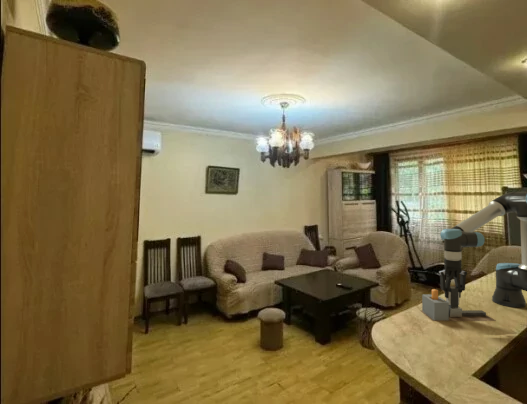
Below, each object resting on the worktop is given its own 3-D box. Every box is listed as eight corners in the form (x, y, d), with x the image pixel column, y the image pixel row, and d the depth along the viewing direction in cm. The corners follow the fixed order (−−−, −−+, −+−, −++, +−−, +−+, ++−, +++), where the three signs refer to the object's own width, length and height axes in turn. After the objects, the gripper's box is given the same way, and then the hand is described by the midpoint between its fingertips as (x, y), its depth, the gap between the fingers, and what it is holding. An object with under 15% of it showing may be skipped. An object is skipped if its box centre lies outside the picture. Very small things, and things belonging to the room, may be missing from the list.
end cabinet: (435, 310, 161) (435, 294, 160) (448, 320, 149) (448, 302, 148) (422, 310, 161) (422, 294, 161) (434, 320, 149) (434, 302, 149)
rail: (481, 314, 156) (481, 310, 156) (486, 316, 153) (486, 312, 153) (440, 314, 156) (440, 310, 156) (443, 316, 153) (443, 312, 153)
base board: (478, 311, 161) (478, 310, 161) (496, 322, 148) (496, 320, 148) (419, 312, 161) (419, 310, 161) (432, 322, 148) (432, 320, 148)
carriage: (454, 312, 157) (454, 285, 157) (462, 317, 151) (462, 289, 151) (443, 312, 158) (443, 285, 157) (450, 317, 152) (450, 289, 151)
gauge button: (436, 304, 156) (436, 289, 156) (439, 306, 153) (439, 291, 153) (430, 304, 156) (430, 289, 156) (433, 306, 153) (433, 291, 153)
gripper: (464, 257, 157) (464, 301, 158) (432, 257, 158) (432, 301, 158) (474, 260, 150) (473, 306, 150) (440, 260, 150) (440, 306, 151)
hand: (452, 303), depth 154 cm, fingers closed on carriage, 4 cm apart
